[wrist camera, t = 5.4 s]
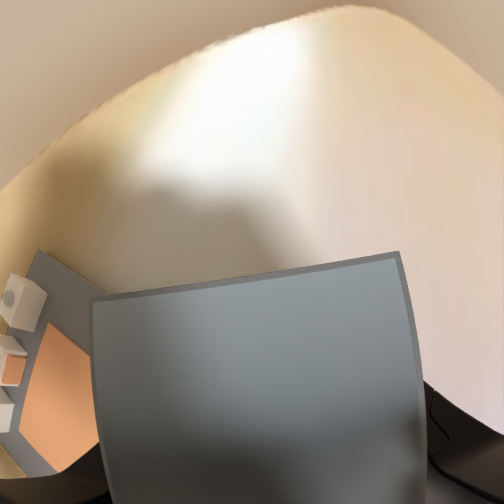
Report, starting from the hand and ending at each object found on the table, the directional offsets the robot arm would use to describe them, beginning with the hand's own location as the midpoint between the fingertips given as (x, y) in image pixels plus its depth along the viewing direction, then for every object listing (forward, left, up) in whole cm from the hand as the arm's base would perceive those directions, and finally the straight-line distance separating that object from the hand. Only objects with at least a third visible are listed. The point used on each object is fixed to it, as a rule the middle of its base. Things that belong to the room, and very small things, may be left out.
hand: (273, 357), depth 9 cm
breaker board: (-10, +12, -7) cm, 17 cm away
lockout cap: (-1, -1, -7) cm, 7 cm away
